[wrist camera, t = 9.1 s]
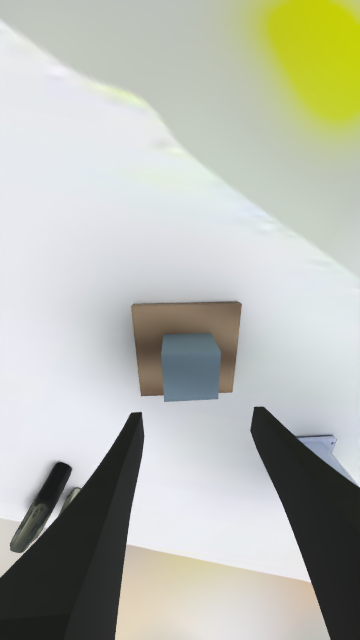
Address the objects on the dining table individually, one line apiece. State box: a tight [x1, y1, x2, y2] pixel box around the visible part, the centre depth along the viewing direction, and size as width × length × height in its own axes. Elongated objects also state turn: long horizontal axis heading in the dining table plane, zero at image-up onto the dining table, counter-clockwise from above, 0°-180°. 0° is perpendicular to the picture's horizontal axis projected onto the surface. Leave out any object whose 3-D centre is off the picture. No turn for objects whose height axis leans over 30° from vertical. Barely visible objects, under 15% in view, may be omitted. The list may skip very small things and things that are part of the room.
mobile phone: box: [10, 462, 71, 553], centre depth 25 cm, size 5×3×15 cm
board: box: [131, 302, 242, 396], centre depth 18 cm, size 11×11×4 cm
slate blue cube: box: [161, 333, 221, 402], centre depth 17 cm, size 5×5×4 cm
